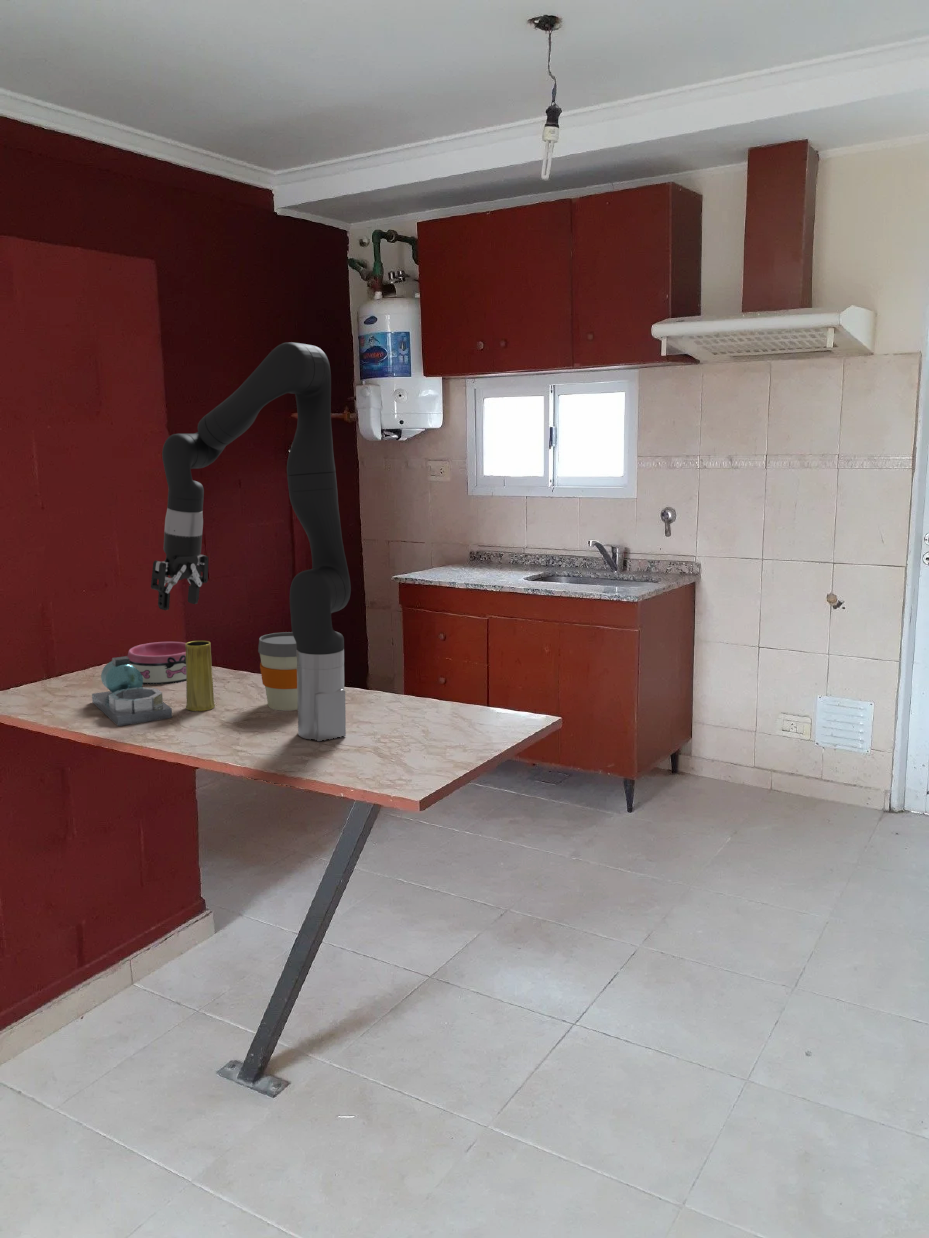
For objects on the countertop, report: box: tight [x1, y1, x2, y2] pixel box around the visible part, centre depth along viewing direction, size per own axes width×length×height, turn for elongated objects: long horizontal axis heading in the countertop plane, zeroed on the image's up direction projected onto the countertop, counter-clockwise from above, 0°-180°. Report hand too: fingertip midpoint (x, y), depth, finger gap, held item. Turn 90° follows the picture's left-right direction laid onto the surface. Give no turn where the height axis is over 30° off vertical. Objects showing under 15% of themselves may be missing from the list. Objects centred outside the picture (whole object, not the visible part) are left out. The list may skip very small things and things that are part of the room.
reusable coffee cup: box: [257, 631, 298, 712], centre depth 209 cm, size 13×13×15 cm
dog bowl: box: [126, 641, 187, 686], centre depth 234 cm, size 18×19×7 cm
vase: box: [185, 640, 216, 712], centre depth 206 cm, size 6×6×14 cm
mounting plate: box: [91, 655, 173, 727], centre depth 204 cm, size 20×11×10 cm, turn 35°
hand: (178, 606), depth 202 cm, fingers open, 8 cm apart
